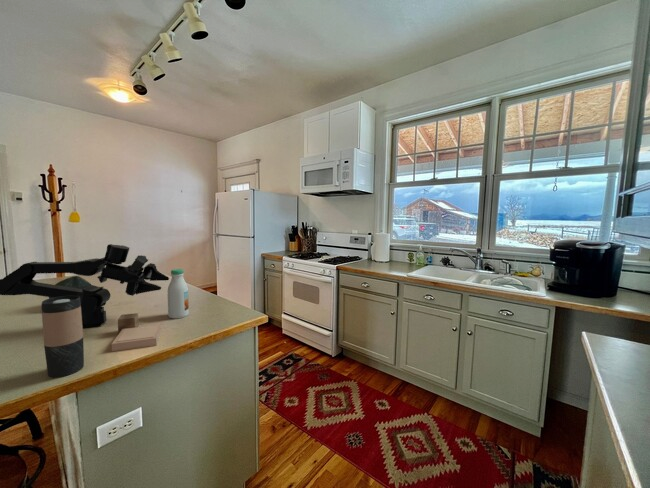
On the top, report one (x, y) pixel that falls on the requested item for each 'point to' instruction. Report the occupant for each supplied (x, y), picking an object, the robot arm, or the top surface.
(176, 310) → the milk bottle
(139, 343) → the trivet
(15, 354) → the top surface
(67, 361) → the travel mug
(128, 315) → the walnut block
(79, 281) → the squash
